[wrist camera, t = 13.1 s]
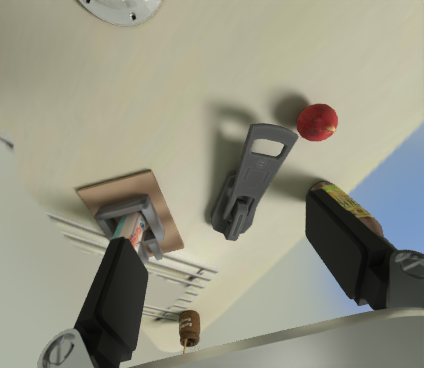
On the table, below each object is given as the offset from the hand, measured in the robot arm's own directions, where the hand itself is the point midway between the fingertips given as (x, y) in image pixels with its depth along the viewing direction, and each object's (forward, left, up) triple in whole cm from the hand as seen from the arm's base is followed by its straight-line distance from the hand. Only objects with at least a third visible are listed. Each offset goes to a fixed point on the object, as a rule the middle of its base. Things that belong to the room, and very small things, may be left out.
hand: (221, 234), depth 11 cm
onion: (+5, +18, -28) cm, 34 cm away
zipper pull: (+14, +6, -28) cm, 32 cm away
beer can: (+16, -17, -27) cm, 36 cm away
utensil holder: (+55, -18, -28) cm, 64 cm away
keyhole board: (+17, -18, -28) cm, 37 cm away
